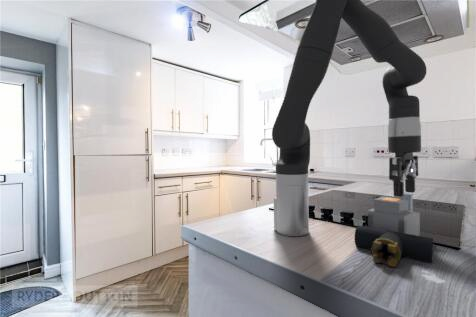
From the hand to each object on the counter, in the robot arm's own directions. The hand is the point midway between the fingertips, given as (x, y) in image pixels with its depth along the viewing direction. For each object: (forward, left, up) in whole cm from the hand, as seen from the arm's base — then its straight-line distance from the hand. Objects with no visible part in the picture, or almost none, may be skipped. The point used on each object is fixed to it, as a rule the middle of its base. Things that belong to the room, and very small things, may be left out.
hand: (404, 194), depth 69 cm
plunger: (0, -9, -3) cm, 9 cm away
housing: (0, -7, -11) cm, 13 cm away
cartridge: (0, -5, -10) cm, 12 cm away
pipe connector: (+3, -18, -12) cm, 22 cm away
